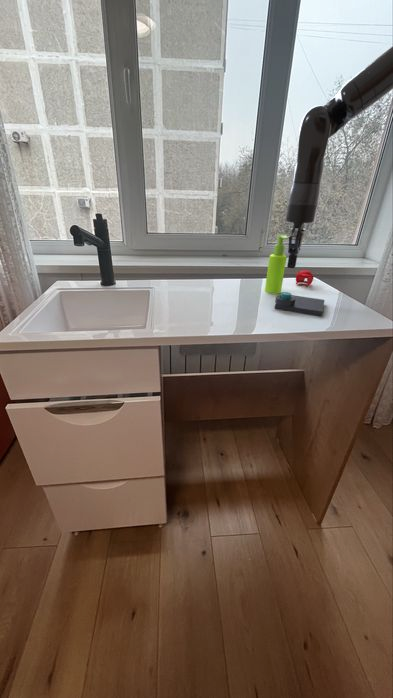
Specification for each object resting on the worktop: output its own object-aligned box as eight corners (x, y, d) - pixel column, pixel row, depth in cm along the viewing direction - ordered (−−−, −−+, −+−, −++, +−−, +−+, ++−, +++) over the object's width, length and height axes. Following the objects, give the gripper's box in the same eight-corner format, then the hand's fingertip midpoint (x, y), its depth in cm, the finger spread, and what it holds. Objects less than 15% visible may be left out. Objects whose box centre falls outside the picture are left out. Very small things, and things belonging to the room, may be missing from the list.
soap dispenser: (268, 294, 104) (276, 236, 94) (262, 289, 110) (270, 233, 100) (283, 294, 104) (294, 236, 94) (277, 289, 110) (286, 233, 100)
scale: (323, 304, 96) (326, 294, 94) (321, 317, 86) (323, 306, 84) (279, 298, 101) (281, 288, 99) (272, 309, 91) (274, 298, 89)
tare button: (291, 298, 91) (292, 292, 91) (289, 300, 89) (290, 295, 88) (281, 296, 92) (282, 291, 92) (279, 299, 90) (280, 294, 89)
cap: (292, 282, 119) (294, 267, 116) (306, 282, 119) (309, 267, 116) (298, 287, 112) (301, 272, 109) (313, 288, 112) (317, 272, 109)
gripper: (315, 204, 71) (301, 274, 79) (319, 202, 82) (306, 264, 90) (284, 203, 74) (274, 270, 82) (291, 201, 84) (282, 262, 93)
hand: (291, 267), depth 86 cm, fingers closed
